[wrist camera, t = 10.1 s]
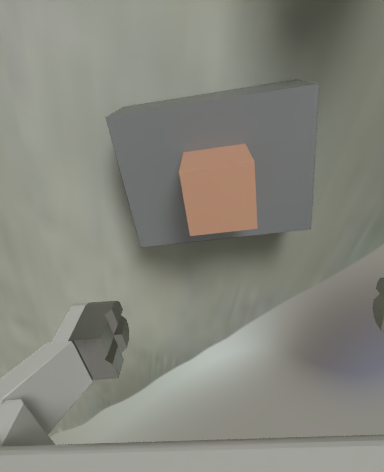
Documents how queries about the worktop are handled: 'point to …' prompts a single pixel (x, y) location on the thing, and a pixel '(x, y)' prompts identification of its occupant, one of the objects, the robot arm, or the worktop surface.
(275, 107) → the stand
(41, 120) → the worktop surface
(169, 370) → the worktop surface
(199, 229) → the cube
